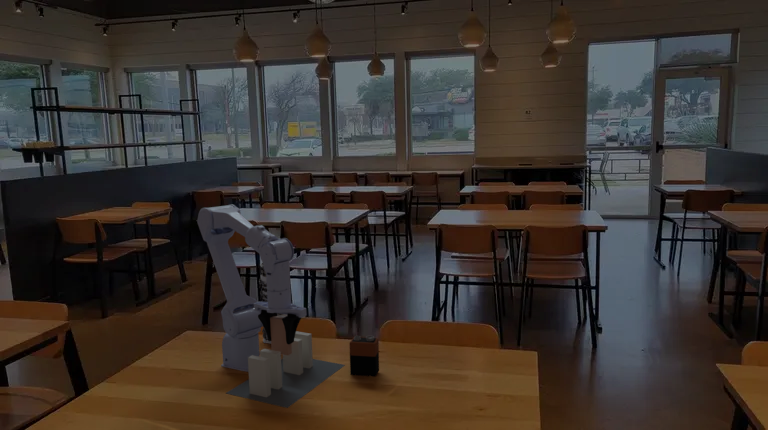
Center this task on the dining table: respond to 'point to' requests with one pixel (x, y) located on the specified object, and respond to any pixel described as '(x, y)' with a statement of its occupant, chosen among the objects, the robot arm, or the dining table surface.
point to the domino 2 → (279, 336)
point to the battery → (364, 356)
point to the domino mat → (291, 384)
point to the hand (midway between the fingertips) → (281, 341)
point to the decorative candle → (265, 298)
